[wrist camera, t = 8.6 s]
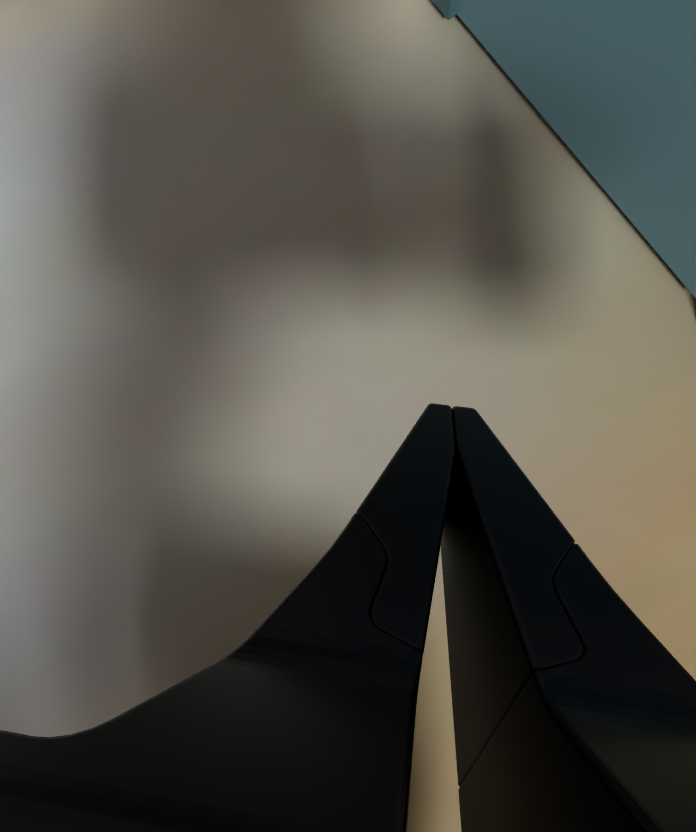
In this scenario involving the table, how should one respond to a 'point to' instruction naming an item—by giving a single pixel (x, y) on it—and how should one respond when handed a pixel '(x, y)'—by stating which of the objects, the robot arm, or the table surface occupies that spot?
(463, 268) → the table surface
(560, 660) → the robot arm
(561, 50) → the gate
